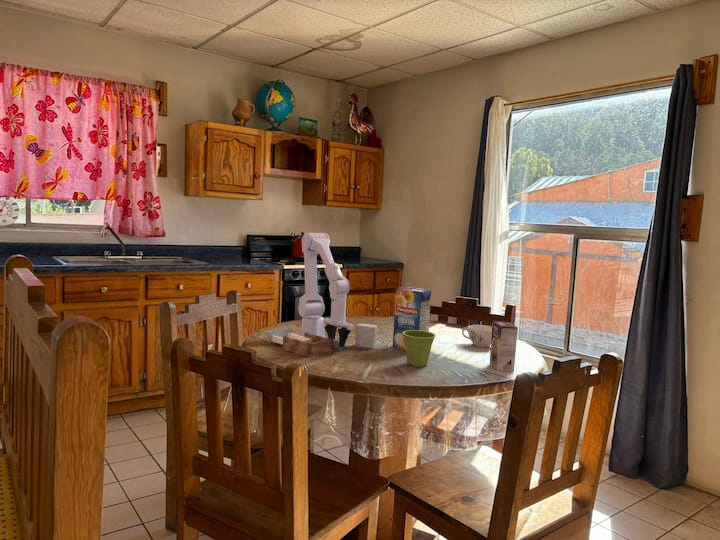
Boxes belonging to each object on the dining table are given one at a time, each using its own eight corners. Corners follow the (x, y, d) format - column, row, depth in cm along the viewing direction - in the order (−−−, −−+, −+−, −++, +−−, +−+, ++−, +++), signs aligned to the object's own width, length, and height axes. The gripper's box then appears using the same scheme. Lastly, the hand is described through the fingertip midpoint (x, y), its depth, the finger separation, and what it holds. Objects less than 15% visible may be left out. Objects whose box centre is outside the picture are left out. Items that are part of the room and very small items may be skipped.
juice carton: (392, 347, 220) (395, 288, 218) (402, 344, 226) (405, 286, 224) (418, 352, 213) (421, 291, 211) (427, 349, 219) (431, 290, 216)
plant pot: (410, 370, 189) (412, 338, 187) (394, 361, 199) (396, 330, 198) (440, 368, 193) (442, 336, 192) (423, 359, 204) (425, 329, 203)
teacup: (500, 345, 233) (501, 326, 232) (493, 351, 222) (495, 331, 221) (465, 340, 239) (466, 322, 238) (457, 345, 228) (458, 326, 227)
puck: (336, 347, 216) (337, 338, 216) (345, 349, 213) (346, 340, 213) (327, 348, 213) (328, 340, 212) (336, 351, 209) (337, 342, 209)
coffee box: (488, 364, 202) (491, 320, 200) (505, 364, 202) (509, 321, 201) (496, 371, 193) (500, 326, 191) (514, 371, 193) (518, 326, 191)
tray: (266, 341, 215) (267, 331, 214) (289, 337, 224) (290, 327, 223) (292, 348, 205) (292, 338, 204) (315, 344, 214) (315, 334, 213)
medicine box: (376, 346, 220) (378, 325, 219) (373, 349, 216) (374, 327, 215) (358, 344, 223) (359, 323, 222) (354, 346, 219) (355, 325, 218)
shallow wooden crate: (281, 349, 209) (282, 336, 208) (304, 344, 218) (305, 332, 217) (309, 357, 199) (310, 344, 198) (332, 352, 207) (333, 339, 207)
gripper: (317, 308, 213) (316, 342, 214) (344, 314, 203) (343, 350, 205) (330, 306, 218) (329, 340, 220) (357, 312, 209) (356, 347, 210)
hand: (336, 345), depth 213 cm, fingers closed on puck, 5 cm apart
